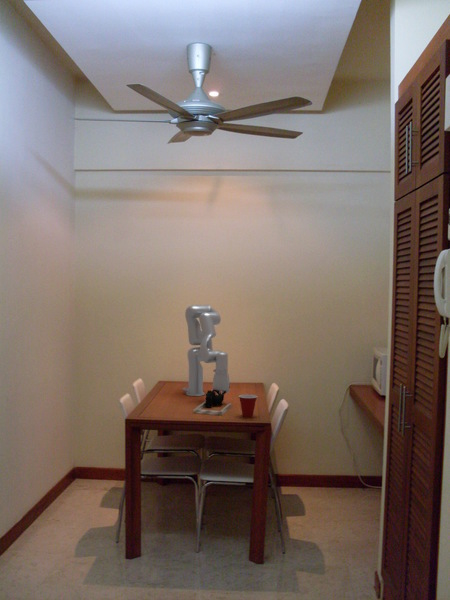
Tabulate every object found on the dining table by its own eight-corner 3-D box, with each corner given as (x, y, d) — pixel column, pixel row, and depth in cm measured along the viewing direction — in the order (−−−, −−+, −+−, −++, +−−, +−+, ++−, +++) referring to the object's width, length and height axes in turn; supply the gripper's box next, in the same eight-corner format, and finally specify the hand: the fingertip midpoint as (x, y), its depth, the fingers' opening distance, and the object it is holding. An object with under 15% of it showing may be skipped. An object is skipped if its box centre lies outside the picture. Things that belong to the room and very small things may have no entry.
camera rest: (193, 413, 316) (193, 409, 316) (204, 404, 337) (204, 401, 337) (221, 415, 311) (221, 412, 311) (231, 406, 333) (231, 403, 333)
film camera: (220, 408, 327) (220, 393, 326) (204, 408, 328) (204, 393, 327) (223, 403, 342) (223, 388, 341) (208, 402, 343) (208, 388, 342)
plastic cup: (256, 413, 317) (256, 393, 316) (258, 418, 306) (258, 397, 305) (237, 413, 316) (238, 393, 316) (238, 418, 305) (239, 397, 305)
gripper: (208, 372, 338) (208, 401, 339) (231, 373, 334) (231, 403, 335) (211, 370, 345) (211, 399, 346) (234, 371, 342) (234, 400, 342)
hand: (221, 401), depth 340 cm, fingers closed
